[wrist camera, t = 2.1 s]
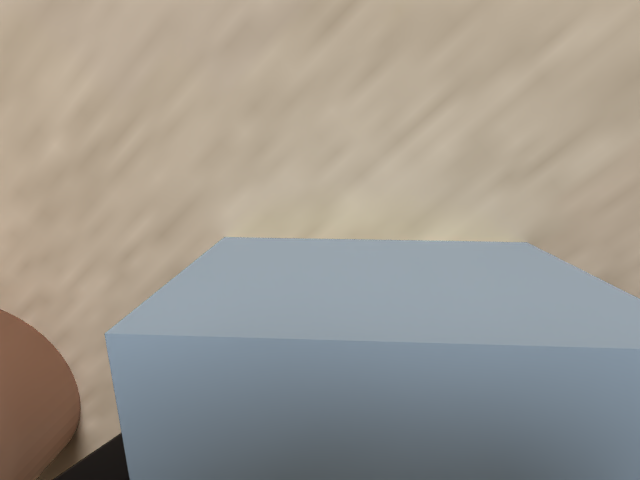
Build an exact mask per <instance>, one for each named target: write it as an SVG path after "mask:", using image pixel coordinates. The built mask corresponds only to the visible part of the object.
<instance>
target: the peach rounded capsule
mask: <svg viewBox="0 0 640 480" xmlns="http://www.w3.org/2000/svg"><path fill="white" fill-rule="evenodd" d="M79 418H80V397H79V392H78V387H77V384H76V381H75V379H74V376H73V374H72V372H71V370H70V368H69V366H68V365H67V363H66V362H65V360H64V358H63V357H62V355H61V354H60V353H59V352H58V351H57V349H56V348H55V347H54V346H53V345H52V344H51V343H50V342H49V341H48V340H47V339H46V338H45V337H44V336H43V335H42V334H41V333H39V332H38V331H37V330H36V329H34V328H33V327H32V326H30V325H29V324H27V323H26V322H24V321H23V320H21V319H19V318H17V317H15V316H13V315H11V314H9V313H7V312H5V311H2V310H0V480H35V479H36V478H37V477H38V476H39V475H40V474H41V473H42V472H43V471H44V469H45V468H46V467H47V466H48V465H49V464H50V463H51V462H52V461H53V459H54V458H55V457H56V456H57V455H58V454H59V453H60V452H61V451H62V449H63V448H64V447H65V446H66V445H67V444H68V442H69V441H70V440H71V438H72V437H73V435H74V433H75V431H76V429H77V426H78V422H79Z"/></svg>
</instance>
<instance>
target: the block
mask: <svg viewBox="0 0 640 480" xmlns="http://www.w3.org/2000/svg"><path fill="white" fill-rule="evenodd" d="M105 339H106V345H107V351H108V357H109V362H110V368H111V374H112V380H113V386H114V391H115V397H116V403H117V409H118V415H119V420H120V426H121V432H122V438H123V444H124V449H125V455H126V461H127V467H128V473H129V478H130V480H640V299H639V298H637V297H635V296H633V295H631V294H629V293H627V292H625V291H623V290H621V289H619V288H617V287H615V286H613V285H611V284H609V283H607V282H605V281H603V280H601V279H599V278H597V277H595V276H593V275H591V274H589V273H587V272H585V271H583V270H581V269H579V268H577V267H575V266H573V265H571V264H569V263H567V262H565V261H563V260H561V259H559V258H557V257H555V256H553V255H551V254H549V253H547V252H545V251H543V250H541V249H539V248H537V247H535V246H533V245H531V244H529V243H527V242H474V241H415V240H357V239H298V238H239V237H224V238H223V239H221V240H220V241H219V242H218V243H216V244H215V245H214V246H213V247H211V248H210V249H209V250H208V251H206V252H205V253H204V254H203V255H201V256H200V257H199V258H198V259H196V260H195V261H194V262H193V263H192V264H190V265H189V266H188V267H187V268H185V269H184V270H183V271H182V272H180V273H179V274H178V275H177V276H175V277H174V278H173V279H172V280H170V281H169V282H168V283H167V284H165V285H164V286H163V287H162V288H160V289H159V290H158V291H157V292H155V293H154V294H153V295H152V296H151V297H149V298H148V299H147V300H146V301H144V302H143V303H142V304H141V305H139V306H138V307H137V308H136V309H134V310H133V311H132V312H131V313H129V314H128V315H127V316H126V317H124V318H123V319H122V320H121V321H119V322H118V323H117V324H116V325H115V326H113V327H112V328H111V329H110V330H108V331H107V332H106V333H105Z"/></svg>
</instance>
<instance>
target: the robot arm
mask: <svg viewBox="0 0 640 480" xmlns="http://www.w3.org/2000/svg"><path fill="white" fill-rule="evenodd" d="M53 480H130V478H129V473H128V467H127V461H126V455H125V449H124V444H123V438H122V433H120V434H119V435H117V436H116V437H114V438H113V439H111V440H110V441H109V442H107V443H106V444H104V445H103V446H101V447H100V448H98V449H97V450H95V451H94V452H92V453H91V454H90V455H88V456H87V457H85V458H84V459H82V460H81V461H79V462H78V463H76V464H75V465H73V466H72V467H70V468H69V469H68V470H66V471H65V472H63V473H62V474H60V475H59V476H57V477H56V478H54V479H53Z"/></svg>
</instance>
